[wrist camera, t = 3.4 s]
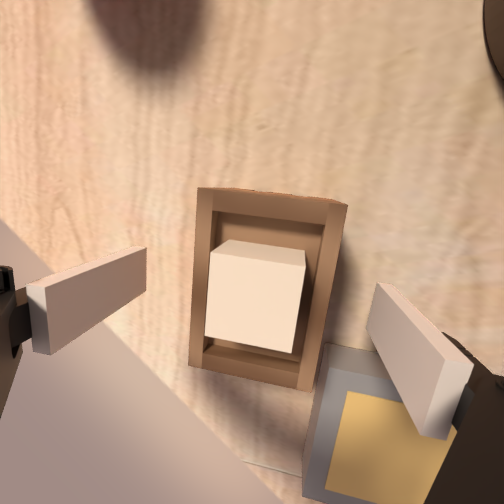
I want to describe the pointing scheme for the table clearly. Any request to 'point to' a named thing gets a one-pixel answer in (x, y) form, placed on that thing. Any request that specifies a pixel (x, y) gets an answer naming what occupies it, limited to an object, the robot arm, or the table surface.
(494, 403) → the robot arm
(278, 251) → the block
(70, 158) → the table surface
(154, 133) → the table surface
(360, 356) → the dock
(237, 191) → the stained wood crate
